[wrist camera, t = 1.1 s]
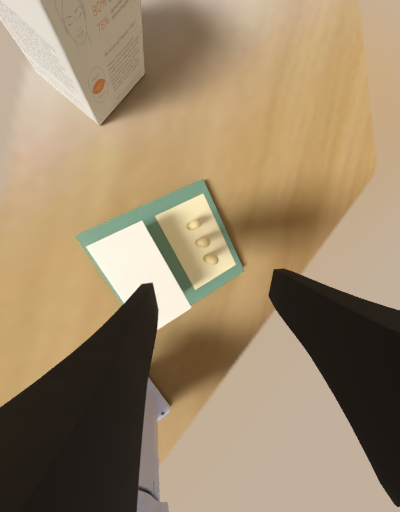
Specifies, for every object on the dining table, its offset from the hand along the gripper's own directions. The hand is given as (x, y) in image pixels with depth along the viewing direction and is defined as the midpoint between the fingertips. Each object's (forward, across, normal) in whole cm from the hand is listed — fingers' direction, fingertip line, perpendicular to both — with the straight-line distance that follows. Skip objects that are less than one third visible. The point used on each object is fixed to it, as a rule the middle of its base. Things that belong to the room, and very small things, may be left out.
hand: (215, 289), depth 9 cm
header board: (+10, +3, +2) cm, 11 cm away
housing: (+8, +6, +3) cm, 11 cm away
